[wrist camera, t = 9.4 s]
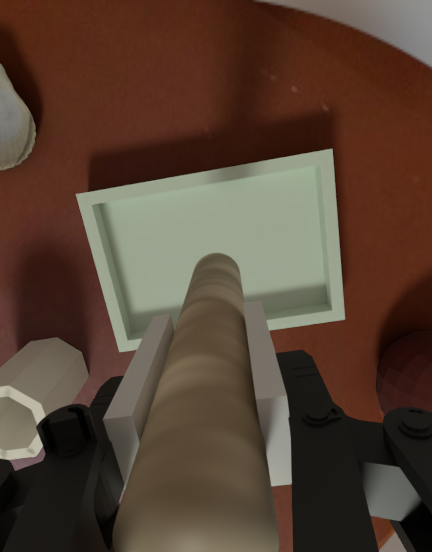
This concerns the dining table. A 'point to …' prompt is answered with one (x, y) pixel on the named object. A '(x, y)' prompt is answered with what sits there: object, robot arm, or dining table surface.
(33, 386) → the crock
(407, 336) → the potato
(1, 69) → the seashell
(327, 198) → the tray
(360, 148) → the dining table surface
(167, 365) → the dowel
